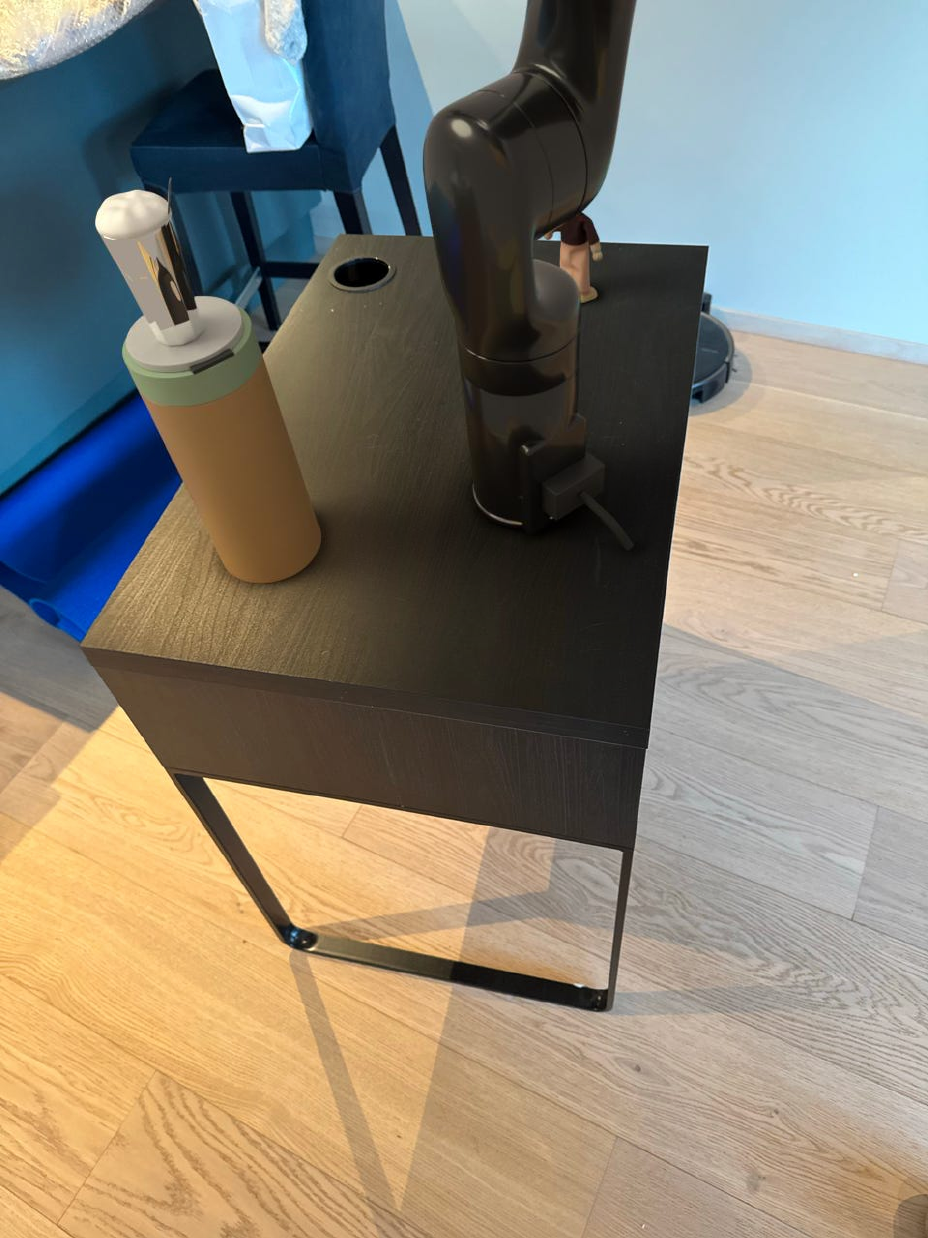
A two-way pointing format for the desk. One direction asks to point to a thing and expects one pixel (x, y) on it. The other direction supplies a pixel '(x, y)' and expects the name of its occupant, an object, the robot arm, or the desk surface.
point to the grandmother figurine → (579, 251)
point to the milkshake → (151, 262)
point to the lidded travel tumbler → (228, 441)
